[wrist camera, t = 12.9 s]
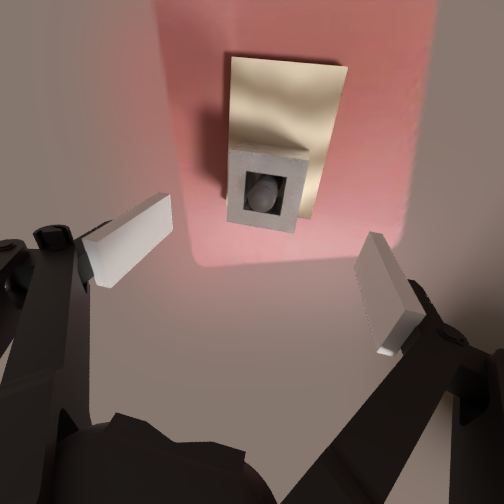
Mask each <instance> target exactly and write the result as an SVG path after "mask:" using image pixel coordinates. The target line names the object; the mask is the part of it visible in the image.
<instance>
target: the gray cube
mask: <svg viewBox="0 0 504 504" xmlns="http://www.w3.org/2000/svg"><path fill="white" fill-rule="evenodd" d="M309 161H310V150H303V149H296V148H289V147H281V146H274V145H266V144H259V143H251V142H243V143H241V144H239V145H237V146H235V147H233V148H231V149H230V152H229V177H228V201H227V222H232V223H237V224H243V225H248V226H254V227H260V228H265V229H271V230H276V231H282V232H288V233H293V234H294V231H295V226H296V221H297V217H298V212H299V207H300V203H301V198H302V193H303V189H304V184H305V179H306V175H307V170H308V165H309ZM256 173H263V174H270V175H277V176H283V177H287V180H286V186H285V192H284V197H280V196H277V198H276V200H275V203H274V205H273V207H272V208H271V209H270V210H268V211H266V212H257V211H255V210H253V209H252V208H251V206H250V205H249V202H248V195H249V192H250V191H251V189H252V188H253V186H254V185H255V180H256Z"/></svg>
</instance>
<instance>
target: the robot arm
mask: <svg viewBox="0 0 504 504" xmlns="http://www.w3.org/2000/svg"><path fill="white" fill-rule="evenodd" d="M172 230H173V225H172V214H171V201H170V194H166V193H161V192H159V193H157V194H155V195H154V196H152V197H151V198H149V199H147V200H146V201H144V202H142V203H141V204H139V205H137V206H136V207H134V208H132V209H131V210H129V211H127V212H126V213H124V214H122V215H121V216H119V217H117V218H116V219H113V220H110V221H107V222H104V223H102V224H101V225H99V226H98V227H97V228H94V229H92V230H91V231H89V232H87V233H86V234H84V235H82V236H80V237H79V238H77V239H75V240H73V237H72V234H71V231H70V229H69V227H68V226H66V225H50V226H45V227H42V228H39V229H38V230H36V231H35V232H34V233H33V235H34V238H35V240H36V242H37V244H38V246H39V249H27V247H26V245H25V243H24V241H22V240H19V239H10V240H7V239H6V240H3V241H0V358H1V357H2V355H3V354H4V352H5V351H6V349H7V348H8V346H9V344H10V343H11V341H12V340H13V338H14V340H13V344H12V347H11V350H10V354H9V357H8V360H7V364H6V367H5V371H4V374H3V377H2V381H1V384H0V504H277V502H276V500H275V498H274V496H273V494H272V492H271V490H270V488H269V487H268V486H267V484H266V482H265V481H264V480H263V478H262V477H261V476H260V475H259V473H258V472H256V470H255V469H253V468H252V467H251V466H250V465H249V464H247V463H246V462H245V461H244V458H245V453H246V452H244V451H241V450H238V449H234V448H232V447H228V446H225V445H222V444H218V443H215V442H186V443H185V442H183V443H176V442H173V441H171V440H170V439H169V438H167V437H166V436H165V435H163V434H162V433H161V432H159V431H158V430H157V429H155V428H154V427H153V426H151V425H150V424H149V423H147V422H146V421H143V420H139V419H136V418H133V417H129V416H126V415H123V414H120V413H115V415H114V416H113V418H112V420H111V421H110V422H106V423H100V424H96V425H92V423H91V419H90V413H89V355H90V353H89V351H90V344H89V343H90V285H89V282H88V280H90V279H91V278H92V277H93V276H94V278H95V281H96V284H97V285H99V286H103V287H107V288H111V287H113V286H114V284H116V283H117V282H118V281H119V280H120V279H121V278H122V277H123V276H124V275H125V274H126V273H127V272H129V271H130V270H131V269H132V268H133V267H134V266H135V265H136V264H137V263H138V262H139V261H140V260H141V259H142V258H143V257H145V256H146V255H147V254H148V253H149V252H150V251H151V250H152V249H153V248H154V247H155V246H156V245H157V244H158V243H160V241H162V240H163V239H164V238H165V237H166V236H167V235H168V234H169V233H170V232H171V231H172ZM354 269H355V272H356V277H357V280H358V284H359V288H360V292H361V295H362V299H363V303H364V307H365V311H366V314H367V318H368V322H369V325H370V329H371V333H372V337H373V341H374V344H375V348H376V352H377V353H381V354H385V355H389V356H393V357H394V356H395V355H396V354H397V353H398V351H399V350H400V349H401V350H402V353H403V357H402V359H401V360H400V361H399V362H398V363H397V364H396V366H395V367H394V368H393V369H392V370H391V372H390V373H389V374H388V375H387V376H386V378H385V379H384V380H383V382H382V383H381V384H380V385H379V386H378V387H377V389H376V390H375V391H374V392H373V393H372V395H371V396H370V397H369V398H368V399H367V401H366V402H365V403H364V404H363V405H362V407H361V408H360V409H359V410H358V412H357V413H356V414H355V415H354V416H353V417H352V419H351V420H350V421H349V422H348V424H347V425H346V426H345V427H344V428H343V430H342V431H341V432H340V433H339V435H338V436H337V437H336V438H335V439H334V440H333V442H332V443H331V444H330V445H329V446H328V447H327V448H326V449H325V451H324V452H323V453H322V454H321V455H320V457H319V458H318V459H317V460H316V461H315V463H314V464H313V465H312V466H311V467H310V469H309V470H308V471H307V472H306V473H305V475H304V476H303V477H302V478H301V480H300V481H299V482H298V483H297V484H296V485H295V487H294V488H293V489H292V490H291V492H290V493H289V494H288V495H287V496H286V497H285V499H284V500H283V501H282V502H281V503H280V504H384V502H385V500H386V498H387V497H388V495H389V493H390V491H391V489H392V487H393V486H394V484H395V482H396V480H397V478H398V477H399V475H400V473H401V471H402V469H403V467H404V466H405V464H406V462H407V460H408V458H409V457H410V455H411V453H412V451H413V449H414V447H415V446H416V444H417V442H418V440H419V438H420V436H421V434H422V433H423V431H424V429H425V427H426V426H427V424H428V422H429V420H430V418H431V416H432V414H433V413H434V411H435V409H436V407H437V405H438V404H439V402H440V400H441V398H442V396H443V395H444V392H445V391H448V392H450V393H452V394H453V411H452V435H451V436H452V437H451V462H450V487H449V504H504V349H502V348H500V349H497V350H496V351H494V352H493V353H492V354H488V353H486V352H484V351H481V350H479V349H477V348H474V347H472V346H470V345H469V342H468V341H467V338H466V337H465V336H464V335H463V334H462V333H461V332H460V331H458V330H457V329H455V328H454V327H452V326H450V325H448V324H445V323H444V322H443V321H442V319H441V317H440V316H439V314H438V313H437V311H436V309H435V307H434V306H433V304H432V303H431V301H430V299H429V297H427V294H426V293H425V291H424V289H423V288H422V287H421V286H420V285H419V284H418V283H417V282H416V281H414V280H410V279H407V278H406V276H405V274H404V273H403V271H402V269H401V267H400V265H399V264H398V262H397V260H396V258H395V256H394V254H393V252H392V251H391V249H390V247H389V245H388V243H387V241H386V240H385V238H384V236H383V234H380V233H375V232H369V234H368V236H367V238H366V241H365V243H364V245H363V248H362V250H361V252H360V254H359V257H358V259H357V261H356V264H355V266H354ZM5 285H6V288H5Z"/></svg>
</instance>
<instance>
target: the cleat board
mask: <svg viewBox="0 0 504 504" xmlns="http://www.w3.org/2000/svg"><path fill="white" fill-rule="evenodd" d="M347 69H348V67H344V66H332V65H321V64H310V63H298V62H287V61H276V60H264V59H253V58H242V57H232V60H231V87H230V114H229V141H228V168H227V195H226V205H227V201H228V177H229V152H230V149H231V148H233V147H235V146H237V145H239V144H241V143H243V142H251V143H259V144H266V145H274V146H281V147H289V148H296V149H303V150H310V161H309V165H308V170H307V175H306V179H305V184H304V189H303V193H302V198H301V203H300V207H299V212H298V218H304V219H311V215H312V211H313V207H314V203H315V199H316V195H317V191H318V187H319V183H320V179H321V175H322V171H323V167H324V162H325V158H326V154H327V150H328V146H329V142H330V138H331V134H332V130H333V126H334V122H335V118H336V114H337V110H338V106H339V102H340V97H341V93H342V89H343V85H344V81H345V77H346V73H347ZM286 180H287V177H283V176H277V175H270V174H263V173H256V180H255V185H254V186H253V188H252V189H251V191H250V192H249V195H248V202H249V205H250V206H251V208H252V209H253V210H255V211H257V212H266V211H268V210H270V209H271V208H272V207H273V205H274V203H275V200H276V198H277V196H280V197H284V192H285V186H286Z"/></svg>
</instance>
